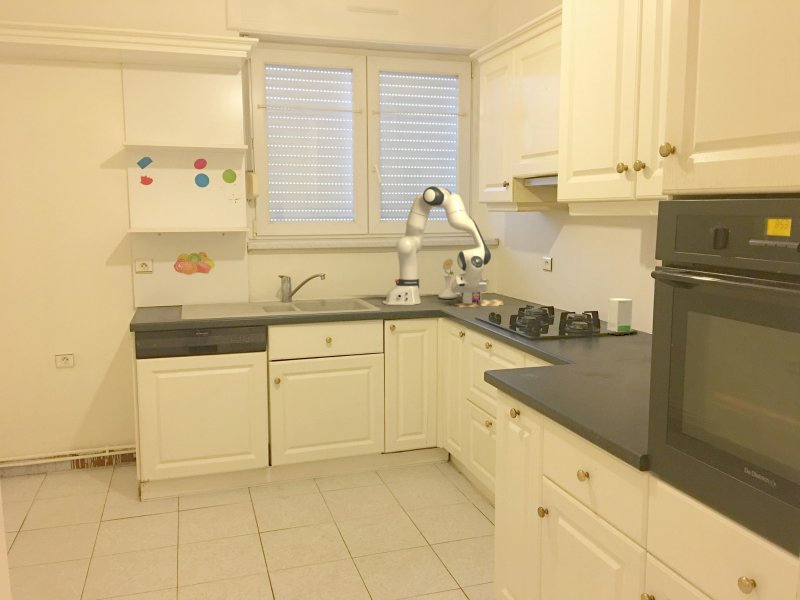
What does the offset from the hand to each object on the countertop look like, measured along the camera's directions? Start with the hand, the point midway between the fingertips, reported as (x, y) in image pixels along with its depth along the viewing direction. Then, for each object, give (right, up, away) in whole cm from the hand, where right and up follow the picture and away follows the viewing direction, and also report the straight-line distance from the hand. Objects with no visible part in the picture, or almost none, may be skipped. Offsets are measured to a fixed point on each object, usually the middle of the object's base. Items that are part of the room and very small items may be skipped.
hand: (466, 295), depth 379 cm
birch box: (+14, -6, +3) cm, 15 cm away
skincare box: (+57, -18, -90) cm, 108 cm away
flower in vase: (-9, -2, +30) cm, 31 cm away
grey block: (0, -4, 0) cm, 4 cm away
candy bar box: (+5, -3, +21) cm, 22 cm away
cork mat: (0, -6, 0) cm, 6 cm away
